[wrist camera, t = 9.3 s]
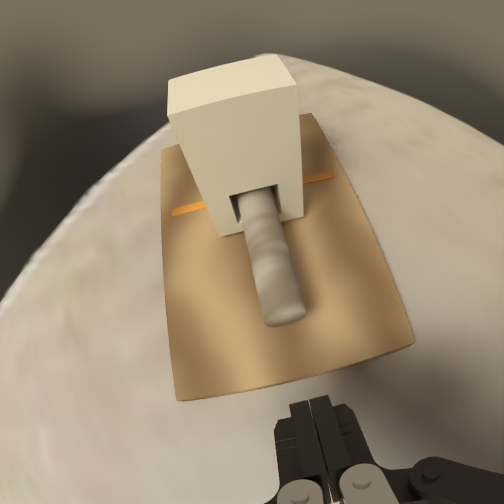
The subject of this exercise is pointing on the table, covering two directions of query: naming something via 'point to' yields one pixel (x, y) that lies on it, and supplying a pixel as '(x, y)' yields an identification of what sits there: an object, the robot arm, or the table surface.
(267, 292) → the pipe stand
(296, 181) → the sleeve
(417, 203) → the table surface
